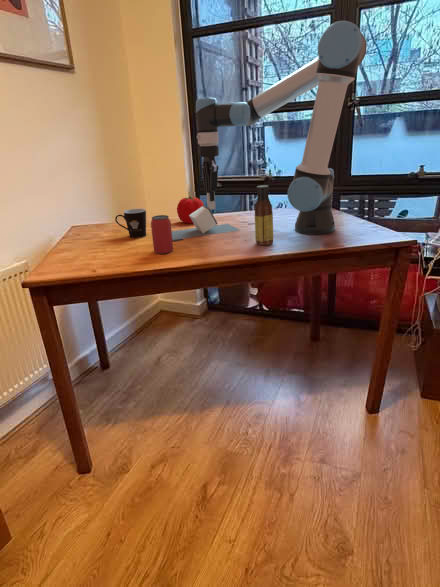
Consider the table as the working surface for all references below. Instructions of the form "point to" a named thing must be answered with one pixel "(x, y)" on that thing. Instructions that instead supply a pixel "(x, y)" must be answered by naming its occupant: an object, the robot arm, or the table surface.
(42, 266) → the table surface
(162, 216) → the beer can
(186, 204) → the tomato
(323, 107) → the robot arm
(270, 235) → the sauce bottle
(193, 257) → the table surface
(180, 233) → the rubber mat
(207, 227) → the cream block
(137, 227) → the coffee mug
